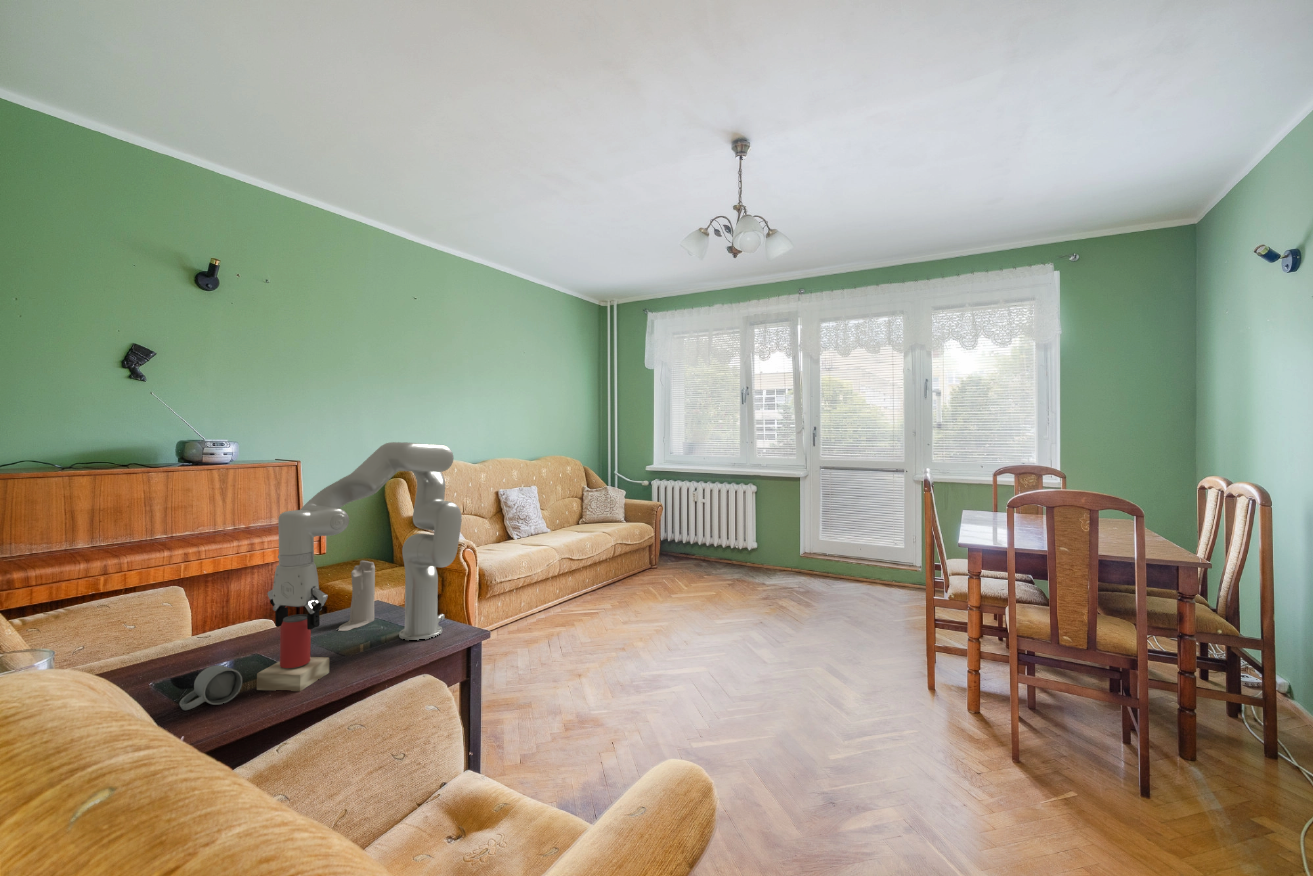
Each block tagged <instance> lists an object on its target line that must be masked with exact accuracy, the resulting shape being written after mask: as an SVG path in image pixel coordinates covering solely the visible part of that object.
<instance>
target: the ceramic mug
mask: <svg viewBox="0 0 1313 876" xmlns="http://www.w3.org/2000/svg"><path fill="white" fill-rule="evenodd" d="M242 686H243V677H242V674H241V673H240V672H239V670H237V669H234V668H231V667H228V666H224V665H221V664H220V665H219V664H218V665H211V666H208V667H206V668H204V669H203V670H202V671H200V672H199V674H197V676H196V678H195V680H194V684H193V688H194V689H193V690H192V691H190V692H189V693H187V694H186V695H185V696H184V697H182V699H181V700H180V701H179V707H180V708H181V710H182V711H189V710H191V709H194V708H196V707H198V706H200V705H201V704H203V703H205V702H206V703H208V704H210V705H214V706H218V705H223V703H224V704H227V703H228V702H230V701H232V700H233V699H234V698H236V697H237V696H238V694H239V692H240V691H241V688H242ZM197 696H198V697H197ZM195 697H197V698H195ZM193 699H194V700H193ZM191 700H192V701H191Z"/></svg>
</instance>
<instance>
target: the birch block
mask: <svg viewBox="0 0 1313 876" xmlns="http://www.w3.org/2000/svg"><path fill="white" fill-rule="evenodd" d="M329 673H330V657H325V656H320V657H319V656H310V662H309V663H308V664H307V665H305V666H302V667H299V668H295V669H284V668H281V667H280V660H279V661H277V662H275V663H274V664H272V665H270V666H269V667H266V668H264V669H262V670H260V671H259V672H257V673H256V690H257V691H276V690H291V691H290V692H302V691H304V690H305V689H306V688H307V687H309V686H311V685H312V684H314V683H315V682H317V681H318V679H319V680H320V679H322V678H323V677H325V676H327V675H328V674H329Z"/></svg>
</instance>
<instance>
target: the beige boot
mask: <svg viewBox="0 0 1313 876" xmlns="http://www.w3.org/2000/svg"><path fill="white" fill-rule="evenodd" d="M375 584H376V567H375V563H374V562H373V561H368V560H360V561H359V564H357V565H355V566H354V567H353V570H352V571H351V587H352V588H351V589H352V592H351V593H352V595H351V602H350V608H349V609H350V610H349V619H348V621H347V622H345V623H342V624H341V625H340V626H338V629H339V630H338V631H341V632H347V631H350V630H353V629H357V628H361V627H363V626H365V625H367V624H370V623H372V622H374V621H375V592H376V591H375V590H376V589H375V588H376V585H375ZM338 631H337V632H338Z"/></svg>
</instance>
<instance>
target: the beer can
mask: <svg viewBox="0 0 1313 876" xmlns="http://www.w3.org/2000/svg"><path fill="white" fill-rule="evenodd" d="M279 629H280V630H279V631H280V634H279V636H280V637H279V661H280V667H281V668H284V669H295V668H299V667H302V666H305V665H307V664H308V663H309V662H310V657H311V644H312V643H311V642H312V641H311V639H312V637H311V635H312V633H311V632H312V629H311V630H308V629H307V614H305V613H304V614H302V613H301V614H293V615H288V617H285V618H284V619H283V622H282V624H281V626H280V628H279Z"/></svg>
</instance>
